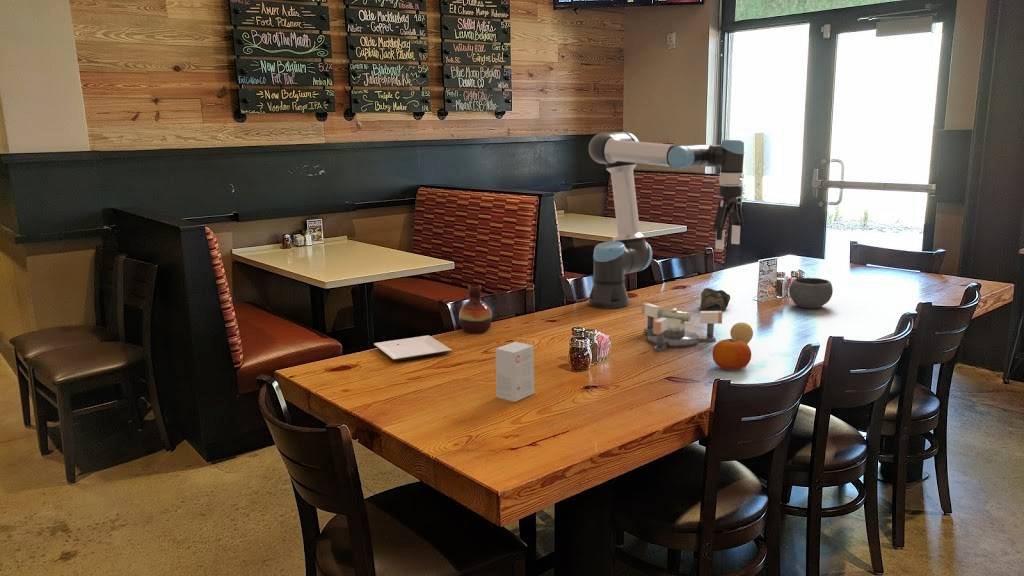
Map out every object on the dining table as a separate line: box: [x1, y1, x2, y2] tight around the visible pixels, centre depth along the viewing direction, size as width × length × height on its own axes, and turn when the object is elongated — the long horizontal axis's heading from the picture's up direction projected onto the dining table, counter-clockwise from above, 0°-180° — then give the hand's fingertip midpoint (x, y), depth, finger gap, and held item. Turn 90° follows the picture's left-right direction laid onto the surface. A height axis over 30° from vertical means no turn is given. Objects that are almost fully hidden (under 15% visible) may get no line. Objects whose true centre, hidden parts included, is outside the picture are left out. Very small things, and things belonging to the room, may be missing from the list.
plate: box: [373, 334, 453, 362], centre depth 238 cm, size 19×19×2 cm
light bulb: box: [730, 322, 754, 345], centre depth 228 cm, size 6×6×10 cm
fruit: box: [711, 338, 752, 371], centre depth 217 cm, size 11×10×8 cm
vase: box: [458, 284, 493, 334], centre depth 260 cm, size 11×11×15 cm
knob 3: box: [699, 310, 723, 337], centre depth 245 cm, size 6×2×8 cm, turn 88°
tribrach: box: [643, 307, 717, 352], centre depth 243 cm, size 24×21×10 cm
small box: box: [494, 341, 535, 403], centre depth 197 cm, size 8×6×13 cm
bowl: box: [789, 277, 834, 309], centre depth 287 cm, size 15×15×10 cm
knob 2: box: [653, 317, 668, 346], centre depth 236 cm, size 6×2×8 cm, turn 148°
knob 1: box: [641, 302, 661, 329], centre depth 255 cm, size 6×2×8 cm, turn 28°
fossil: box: [700, 287, 731, 312], centre depth 287 cm, size 11×9×10 cm
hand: (727, 246), depth 271 cm, fingers open, 13 cm apart
